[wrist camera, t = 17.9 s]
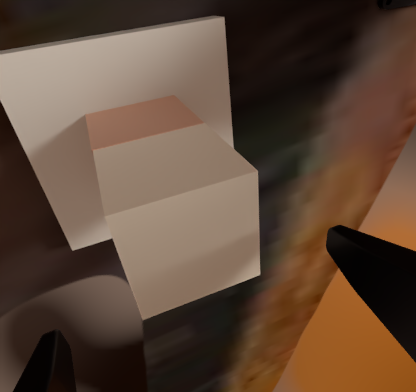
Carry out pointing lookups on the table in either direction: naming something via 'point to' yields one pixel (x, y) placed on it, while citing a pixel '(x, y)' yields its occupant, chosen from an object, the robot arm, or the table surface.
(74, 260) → the table surface
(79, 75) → the baseplate
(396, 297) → the robot arm
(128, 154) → the cream block
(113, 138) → the terracotta block
